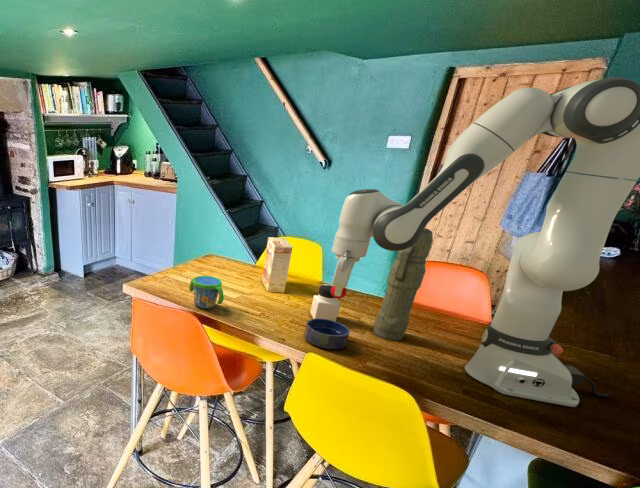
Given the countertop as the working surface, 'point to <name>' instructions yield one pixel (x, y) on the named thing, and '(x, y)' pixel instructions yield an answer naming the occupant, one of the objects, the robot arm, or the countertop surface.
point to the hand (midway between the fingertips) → (338, 292)
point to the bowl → (326, 333)
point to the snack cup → (206, 291)
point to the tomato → (341, 293)
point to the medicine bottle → (325, 304)
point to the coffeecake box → (276, 264)
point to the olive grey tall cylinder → (402, 289)
